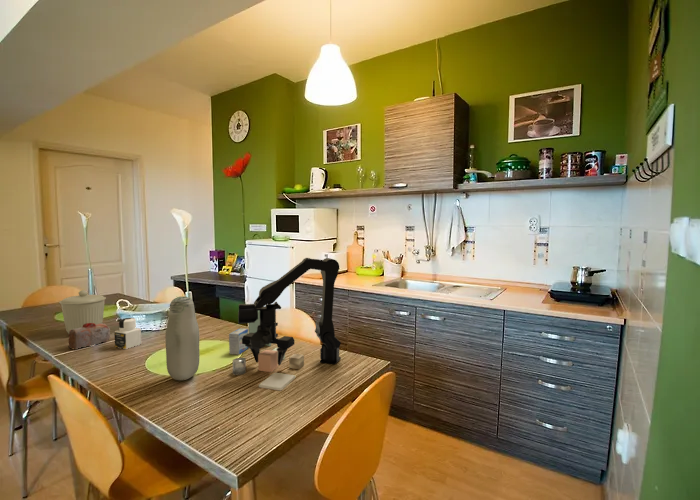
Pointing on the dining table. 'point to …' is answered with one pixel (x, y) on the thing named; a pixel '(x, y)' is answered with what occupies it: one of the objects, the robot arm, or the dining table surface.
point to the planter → (255, 326)
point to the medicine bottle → (127, 334)
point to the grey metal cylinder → (239, 366)
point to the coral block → (267, 360)
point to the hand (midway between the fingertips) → (268, 363)
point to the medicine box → (237, 341)
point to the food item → (88, 335)
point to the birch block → (296, 361)
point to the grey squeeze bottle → (182, 339)
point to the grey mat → (277, 381)
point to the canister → (82, 310)
